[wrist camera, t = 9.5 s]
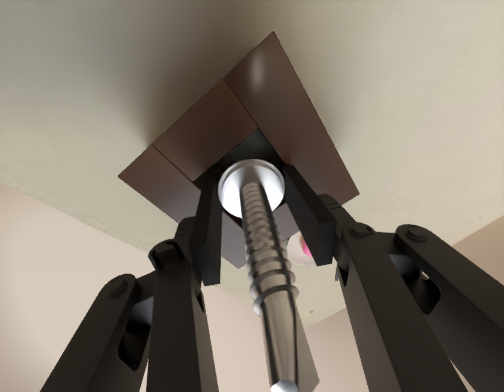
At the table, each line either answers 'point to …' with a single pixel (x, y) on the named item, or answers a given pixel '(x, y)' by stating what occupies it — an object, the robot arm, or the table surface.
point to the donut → (299, 250)
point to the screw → (269, 272)
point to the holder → (232, 134)
